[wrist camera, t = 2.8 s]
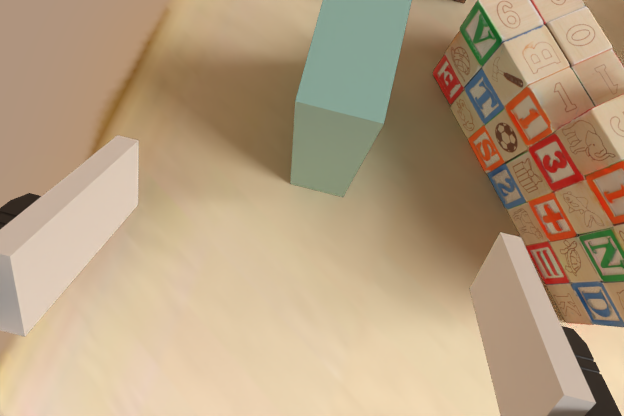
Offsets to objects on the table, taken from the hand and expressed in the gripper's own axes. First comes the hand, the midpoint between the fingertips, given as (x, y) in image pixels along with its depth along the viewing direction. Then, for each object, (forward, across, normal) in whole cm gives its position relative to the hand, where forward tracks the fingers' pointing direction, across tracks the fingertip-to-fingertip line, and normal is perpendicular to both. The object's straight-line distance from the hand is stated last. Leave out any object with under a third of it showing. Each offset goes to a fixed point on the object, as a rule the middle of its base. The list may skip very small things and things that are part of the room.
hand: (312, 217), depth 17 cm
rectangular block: (+19, 0, +4) cm, 19 cm away
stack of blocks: (+19, -16, +4) cm, 25 cm away
